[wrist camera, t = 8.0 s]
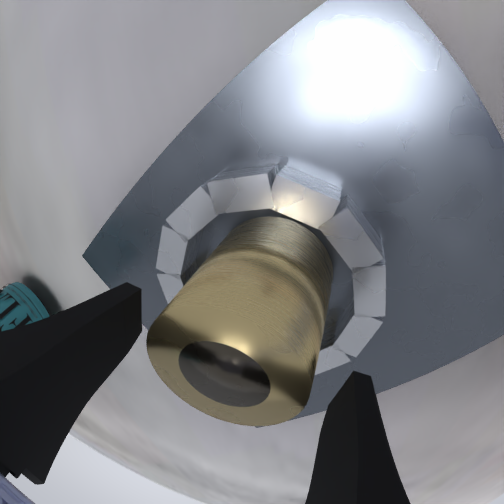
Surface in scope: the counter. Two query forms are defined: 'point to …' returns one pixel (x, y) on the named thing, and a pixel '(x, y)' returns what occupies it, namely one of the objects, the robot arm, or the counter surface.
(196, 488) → the counter surface
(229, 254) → the brass bushing
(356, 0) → the jig plate
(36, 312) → the beverage bottle
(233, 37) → the counter surface
